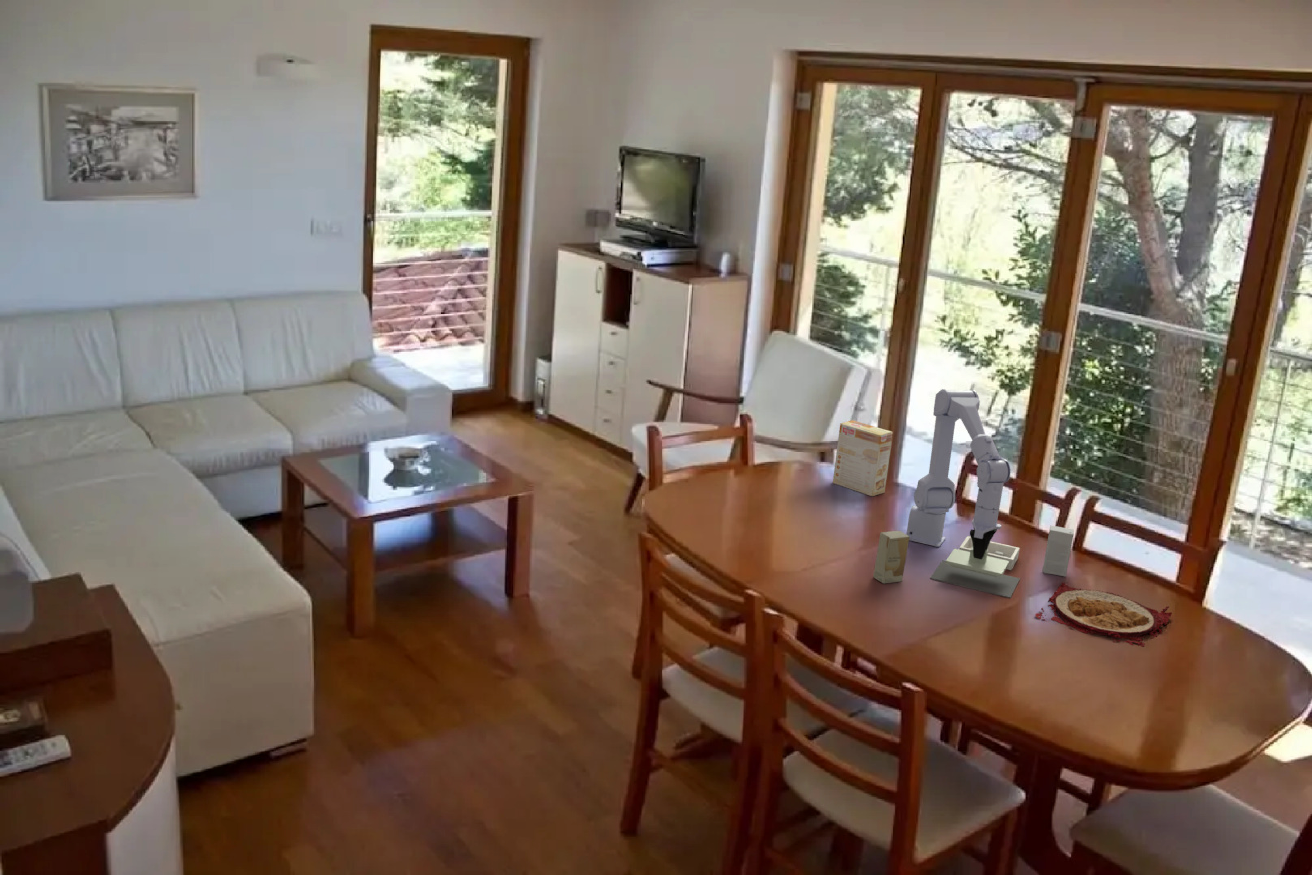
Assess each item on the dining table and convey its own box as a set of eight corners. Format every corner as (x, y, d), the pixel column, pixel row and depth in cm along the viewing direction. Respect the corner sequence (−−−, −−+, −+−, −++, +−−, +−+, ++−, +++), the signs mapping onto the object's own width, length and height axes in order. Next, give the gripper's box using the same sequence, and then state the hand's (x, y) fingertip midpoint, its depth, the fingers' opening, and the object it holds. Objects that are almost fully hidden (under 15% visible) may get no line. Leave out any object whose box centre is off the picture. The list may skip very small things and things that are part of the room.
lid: (944, 566, 306) (947, 549, 304) (953, 554, 314) (956, 537, 313) (1000, 579, 300) (1003, 562, 299) (1008, 566, 309) (1011, 550, 308)
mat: (930, 578, 306) (930, 577, 306) (942, 561, 318) (942, 560, 318) (1010, 598, 298) (1010, 597, 298) (1019, 579, 310) (1019, 578, 310)
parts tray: (957, 557, 322) (959, 547, 321) (965, 546, 330) (967, 536, 329) (1011, 570, 316) (1013, 559, 315) (1017, 558, 325) (1019, 547, 324)
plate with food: (1061, 589, 309) (1063, 576, 308) (1170, 618, 295) (1173, 604, 294) (1032, 622, 289) (1034, 608, 288) (1148, 654, 275) (1151, 640, 274)
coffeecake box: (885, 492, 369) (894, 431, 363) (872, 497, 364) (880, 435, 358) (845, 479, 378) (853, 419, 373) (831, 483, 373) (839, 422, 368)
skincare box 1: (883, 584, 300) (889, 538, 297) (872, 577, 304) (879, 532, 300) (903, 581, 303) (910, 535, 300) (892, 574, 307) (899, 529, 303)
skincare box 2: (1066, 571, 318) (1074, 529, 315) (1065, 577, 315) (1074, 534, 311) (1042, 566, 320) (1050, 524, 317) (1041, 572, 316) (1049, 529, 313)
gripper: (998, 517, 295) (989, 569, 299) (1009, 501, 307) (1000, 551, 311) (969, 511, 297) (961, 562, 301) (981, 495, 310) (972, 544, 314)
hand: (979, 556), depth 306 cm, fingers closed on lid, 2 cm apart
